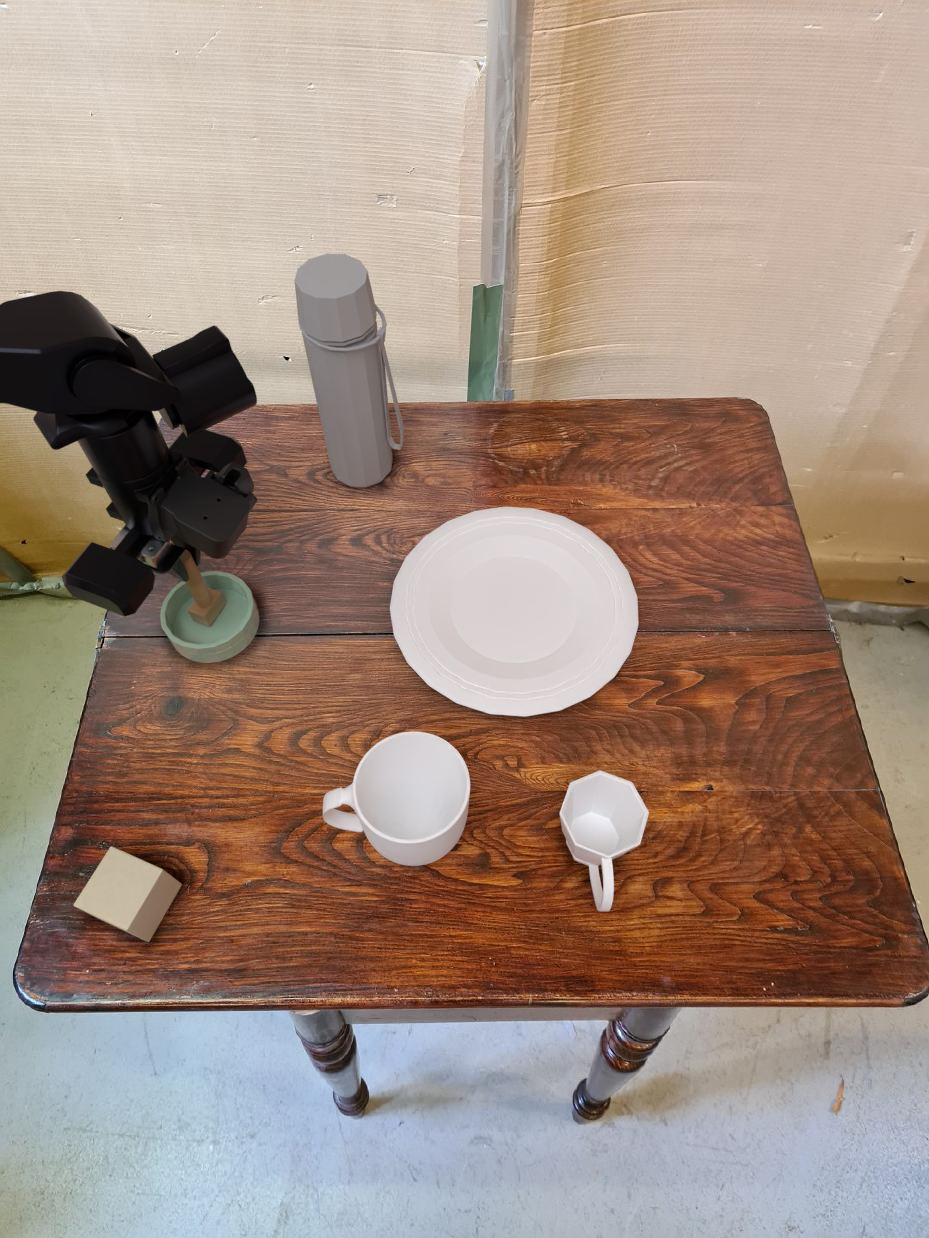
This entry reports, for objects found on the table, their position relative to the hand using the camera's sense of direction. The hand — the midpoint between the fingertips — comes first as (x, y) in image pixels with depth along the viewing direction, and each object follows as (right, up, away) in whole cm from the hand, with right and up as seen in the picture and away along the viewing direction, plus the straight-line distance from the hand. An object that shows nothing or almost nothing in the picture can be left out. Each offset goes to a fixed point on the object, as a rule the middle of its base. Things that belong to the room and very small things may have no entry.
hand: (189, 571), depth 75 cm
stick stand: (-1, -28, -8) cm, 29 cm away
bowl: (+1, -5, +6) cm, 8 cm away
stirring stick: (0, -4, +6) cm, 7 cm away
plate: (+31, -4, +7) cm, 32 cm away
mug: (+21, -23, -5) cm, 31 cm away
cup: (+37, -25, -6) cm, 45 cm away
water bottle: (+15, +13, +17) cm, 26 cm away
